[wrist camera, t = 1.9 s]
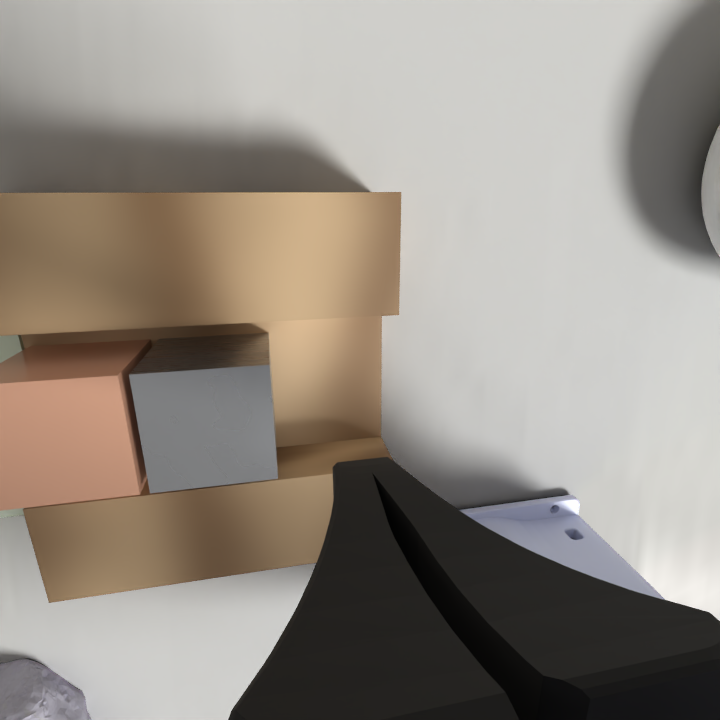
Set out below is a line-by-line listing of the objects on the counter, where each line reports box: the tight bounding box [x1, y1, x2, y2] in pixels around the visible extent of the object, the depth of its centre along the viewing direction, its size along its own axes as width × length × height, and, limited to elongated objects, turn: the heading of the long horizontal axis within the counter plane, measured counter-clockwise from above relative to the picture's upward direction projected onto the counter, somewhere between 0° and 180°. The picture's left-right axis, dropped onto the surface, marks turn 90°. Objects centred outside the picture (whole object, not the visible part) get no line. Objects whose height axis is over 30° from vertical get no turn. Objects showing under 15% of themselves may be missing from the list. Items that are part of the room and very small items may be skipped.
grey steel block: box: [129, 333, 278, 493], centre depth 16 cm, size 4×4×4 cm
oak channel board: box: [0, 192, 401, 603], centre depth 17 cm, size 13×14×4 cm
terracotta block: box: [0, 339, 152, 511], centre depth 15 cm, size 4×4×4 cm
